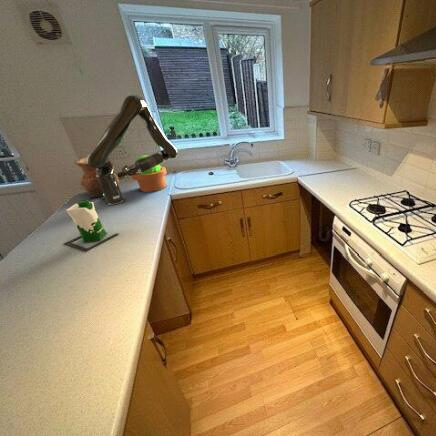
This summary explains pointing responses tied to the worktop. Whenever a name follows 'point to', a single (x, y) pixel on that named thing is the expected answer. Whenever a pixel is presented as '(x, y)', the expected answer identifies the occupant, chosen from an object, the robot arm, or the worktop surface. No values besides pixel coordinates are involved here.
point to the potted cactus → (151, 178)
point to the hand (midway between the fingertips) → (117, 176)
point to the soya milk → (87, 221)
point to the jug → (91, 178)
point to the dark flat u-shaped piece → (89, 247)
